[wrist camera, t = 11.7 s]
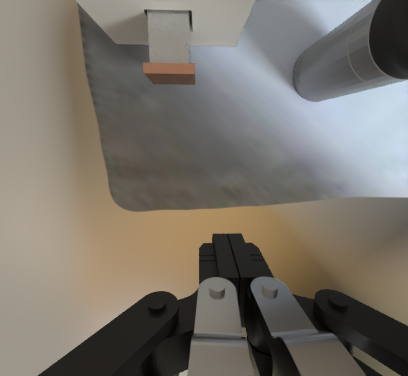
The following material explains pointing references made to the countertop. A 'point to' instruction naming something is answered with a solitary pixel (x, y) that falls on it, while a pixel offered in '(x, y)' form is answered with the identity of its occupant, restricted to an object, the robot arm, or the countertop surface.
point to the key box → (197, 4)
